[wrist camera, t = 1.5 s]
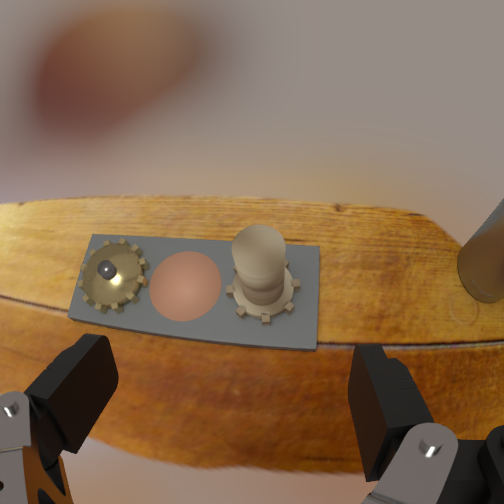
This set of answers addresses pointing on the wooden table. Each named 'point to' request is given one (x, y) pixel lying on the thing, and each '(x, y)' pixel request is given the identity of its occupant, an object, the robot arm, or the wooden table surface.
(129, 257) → the brass gear
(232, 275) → the gear board
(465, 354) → the wooden table surface
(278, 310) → the beech gear spindle
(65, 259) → the wooden table surface
